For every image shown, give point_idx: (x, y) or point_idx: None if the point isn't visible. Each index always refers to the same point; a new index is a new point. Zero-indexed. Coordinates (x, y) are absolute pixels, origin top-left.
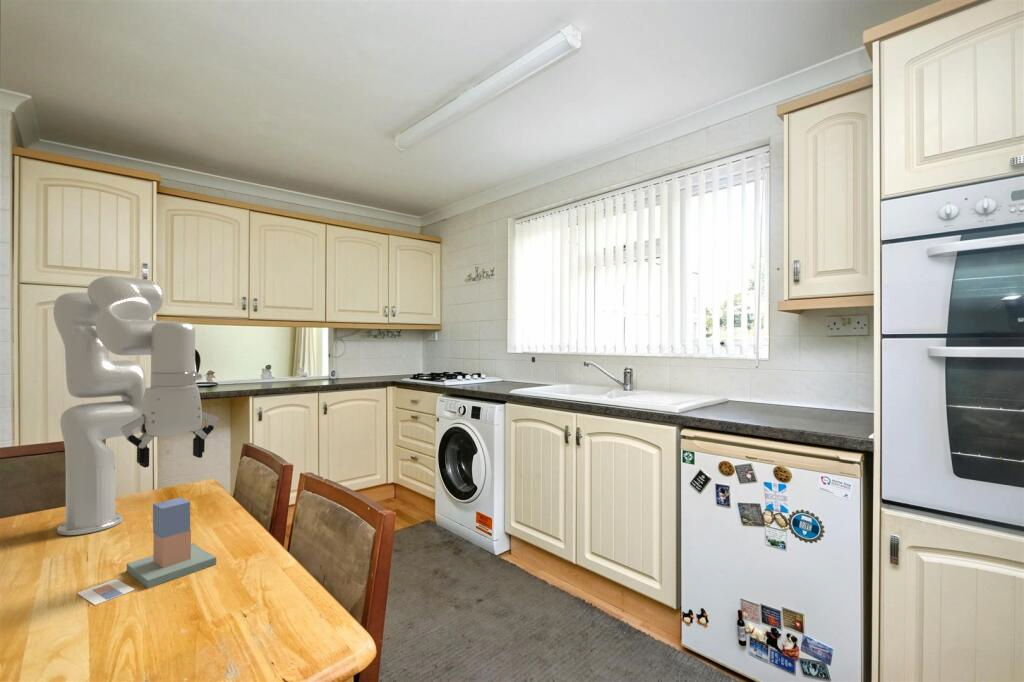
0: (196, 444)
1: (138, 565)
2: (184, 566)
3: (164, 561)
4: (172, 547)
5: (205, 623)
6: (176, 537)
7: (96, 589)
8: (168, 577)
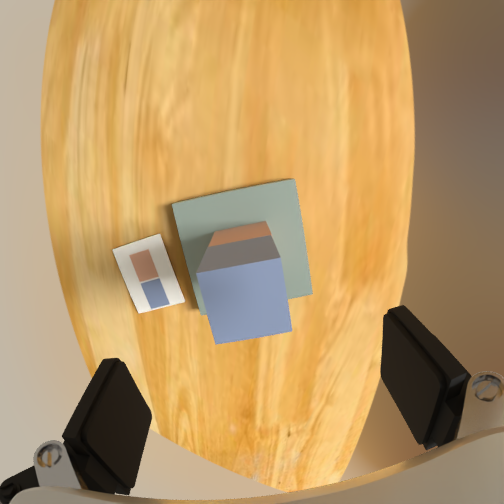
0: (413, 402)
1: (189, 231)
2: None
3: None
4: None
5: (253, 428)
6: None
7: (134, 258)
8: None
